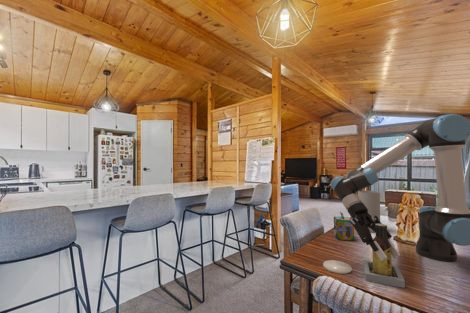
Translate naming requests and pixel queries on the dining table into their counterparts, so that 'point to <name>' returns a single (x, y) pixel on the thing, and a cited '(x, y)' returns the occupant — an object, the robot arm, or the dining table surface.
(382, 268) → the sauce bottle
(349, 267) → the coaster
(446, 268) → the dining table surface
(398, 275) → the pocket frame
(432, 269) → the dining table surface
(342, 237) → the chalk box
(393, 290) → the dining table surface
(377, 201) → the cylinder vase
